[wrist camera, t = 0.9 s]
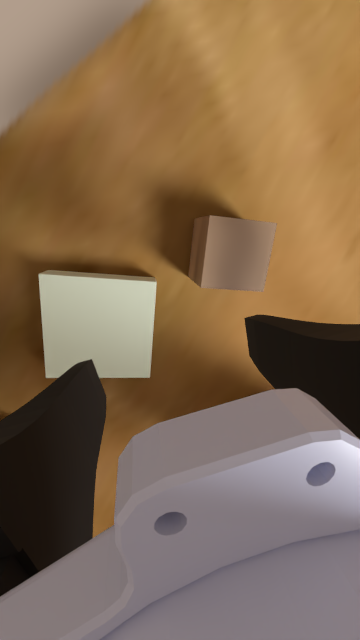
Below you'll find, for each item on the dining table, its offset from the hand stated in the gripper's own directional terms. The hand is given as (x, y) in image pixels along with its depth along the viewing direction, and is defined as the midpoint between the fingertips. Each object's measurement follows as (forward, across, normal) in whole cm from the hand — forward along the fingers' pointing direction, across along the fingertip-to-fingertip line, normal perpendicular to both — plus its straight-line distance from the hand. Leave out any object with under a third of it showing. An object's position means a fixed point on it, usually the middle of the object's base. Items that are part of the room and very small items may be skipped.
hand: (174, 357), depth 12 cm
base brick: (+11, +5, +1) cm, 12 cm away
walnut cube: (+10, -6, -3) cm, 12 cm away
